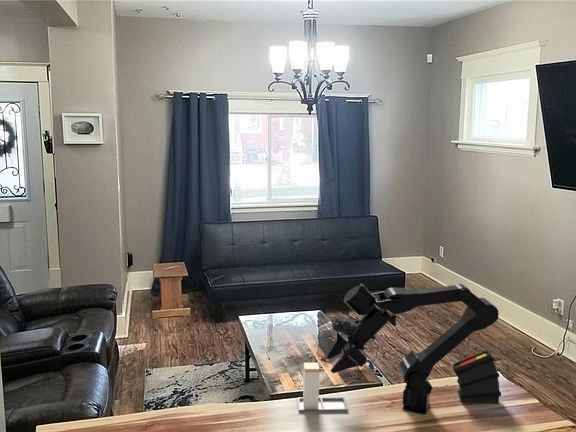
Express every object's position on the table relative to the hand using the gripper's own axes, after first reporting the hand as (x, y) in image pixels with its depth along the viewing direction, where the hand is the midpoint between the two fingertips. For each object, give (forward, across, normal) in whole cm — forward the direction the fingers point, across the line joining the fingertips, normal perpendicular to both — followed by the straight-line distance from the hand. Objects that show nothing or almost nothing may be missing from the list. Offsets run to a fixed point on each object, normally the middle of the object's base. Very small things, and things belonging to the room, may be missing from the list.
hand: (329, 364), depth 160 cm
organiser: (+11, 0, +8) cm, 13 cm away
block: (+12, 0, +5) cm, 13 cm away
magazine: (-20, -4, +41) cm, 45 cm away
